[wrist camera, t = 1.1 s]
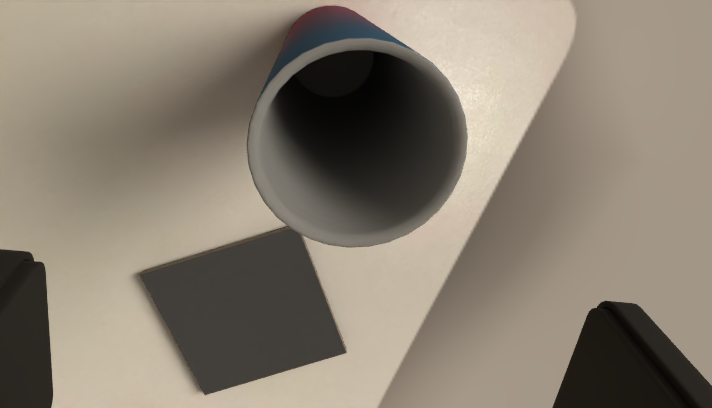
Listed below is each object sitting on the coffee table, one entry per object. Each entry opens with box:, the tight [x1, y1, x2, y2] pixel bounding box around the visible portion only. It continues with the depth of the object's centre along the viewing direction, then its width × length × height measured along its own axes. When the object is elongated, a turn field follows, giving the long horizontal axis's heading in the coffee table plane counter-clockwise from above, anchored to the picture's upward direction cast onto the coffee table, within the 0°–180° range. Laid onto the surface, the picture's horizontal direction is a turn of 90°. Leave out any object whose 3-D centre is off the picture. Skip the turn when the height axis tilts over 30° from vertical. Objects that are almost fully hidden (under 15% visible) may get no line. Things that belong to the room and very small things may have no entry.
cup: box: [247, 6, 468, 247], centre depth 25 cm, size 7×7×15 cm
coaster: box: [140, 226, 346, 395], centre depth 38 cm, size 10×10×1 cm
